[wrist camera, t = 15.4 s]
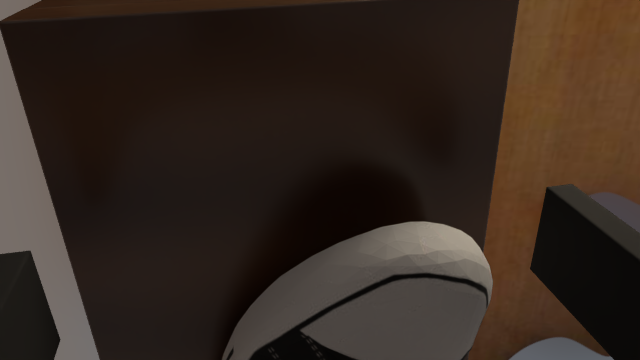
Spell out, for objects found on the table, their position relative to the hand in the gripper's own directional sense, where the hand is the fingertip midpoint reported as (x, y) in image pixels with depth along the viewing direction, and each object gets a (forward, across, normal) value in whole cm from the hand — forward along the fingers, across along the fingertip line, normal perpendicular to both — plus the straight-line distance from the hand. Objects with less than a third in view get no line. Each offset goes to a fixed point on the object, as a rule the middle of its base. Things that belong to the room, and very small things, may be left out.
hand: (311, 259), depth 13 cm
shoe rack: (+40, 0, -10) cm, 41 cm away
